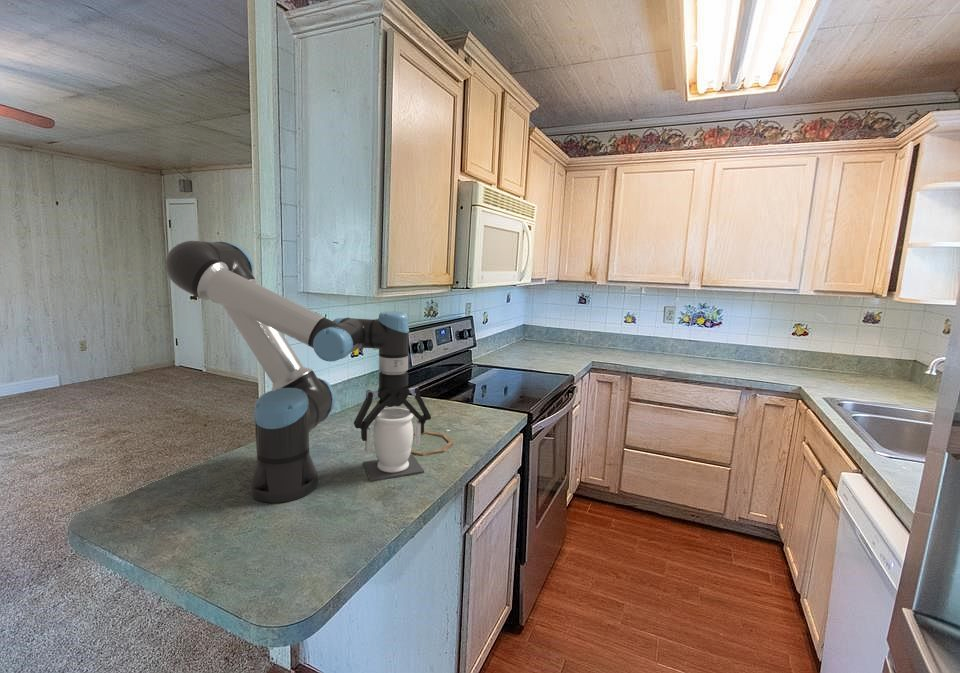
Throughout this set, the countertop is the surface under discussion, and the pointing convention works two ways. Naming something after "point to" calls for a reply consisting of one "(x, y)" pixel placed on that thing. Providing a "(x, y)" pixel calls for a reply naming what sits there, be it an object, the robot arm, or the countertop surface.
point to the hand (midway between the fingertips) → (393, 448)
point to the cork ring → (434, 450)
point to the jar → (393, 439)
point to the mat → (377, 474)
